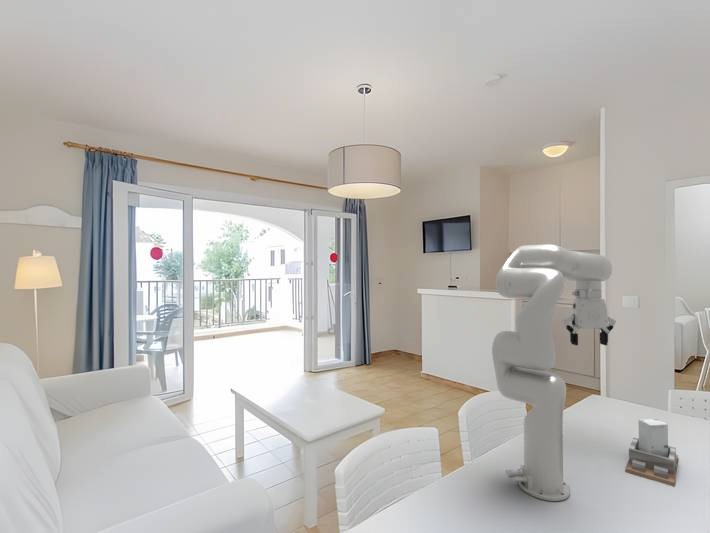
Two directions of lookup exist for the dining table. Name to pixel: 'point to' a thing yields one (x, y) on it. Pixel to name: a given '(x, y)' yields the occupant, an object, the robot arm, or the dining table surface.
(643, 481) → the dining table surface
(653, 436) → the skincare box
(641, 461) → the socket board
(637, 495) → the dining table surface
